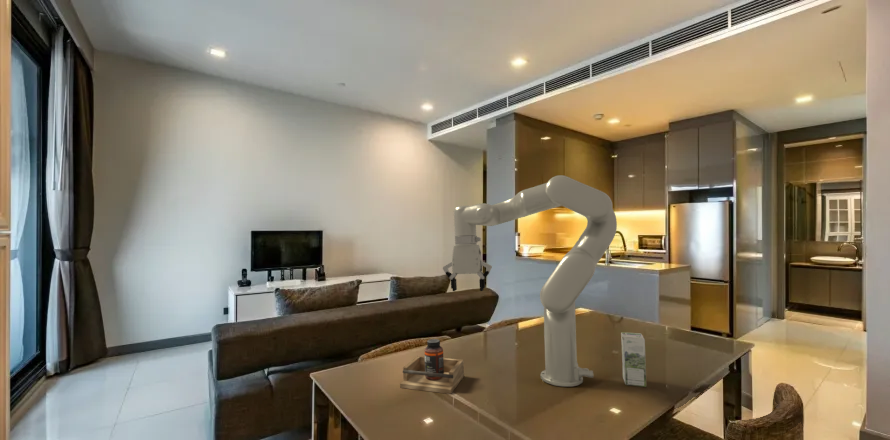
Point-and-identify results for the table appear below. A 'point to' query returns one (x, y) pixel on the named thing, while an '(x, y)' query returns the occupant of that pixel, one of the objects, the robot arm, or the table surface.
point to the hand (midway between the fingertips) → (468, 290)
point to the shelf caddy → (418, 381)
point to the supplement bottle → (434, 358)
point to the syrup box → (633, 359)
